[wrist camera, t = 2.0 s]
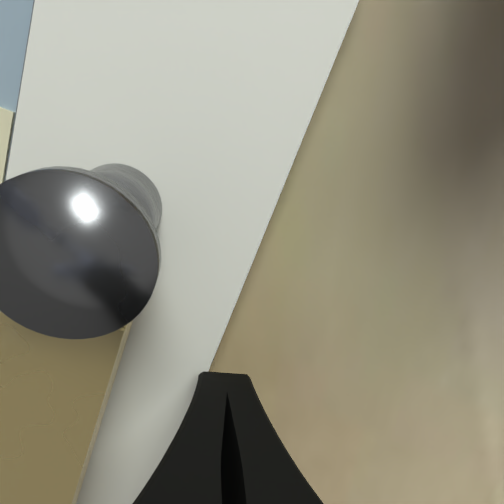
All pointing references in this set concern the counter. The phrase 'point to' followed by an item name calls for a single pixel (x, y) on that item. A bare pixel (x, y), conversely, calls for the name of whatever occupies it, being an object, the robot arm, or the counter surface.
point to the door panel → (168, 166)
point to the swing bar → (51, 410)
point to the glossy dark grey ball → (78, 248)
